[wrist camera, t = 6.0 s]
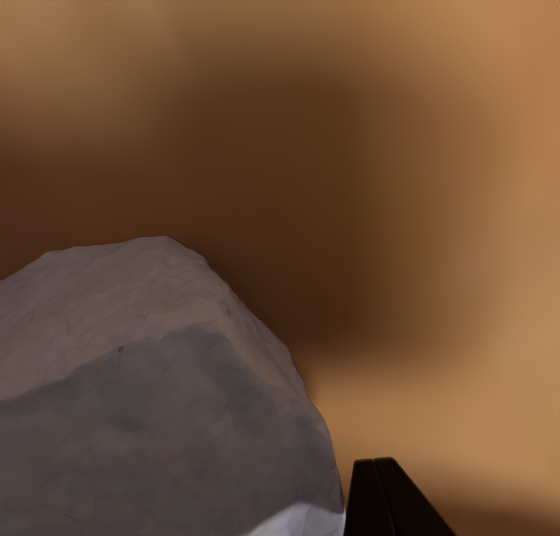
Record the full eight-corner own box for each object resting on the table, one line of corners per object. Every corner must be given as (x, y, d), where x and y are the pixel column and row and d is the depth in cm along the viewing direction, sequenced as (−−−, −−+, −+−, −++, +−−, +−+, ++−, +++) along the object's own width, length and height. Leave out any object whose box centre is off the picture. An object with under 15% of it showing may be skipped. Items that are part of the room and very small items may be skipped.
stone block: (212, 166, 9) (-225, 351, 9) (244, 233, 5) (-623, 610, 4) (350, 480, 14) (85, 608, 14) (423, 644, 10) (45, 838, 10)
